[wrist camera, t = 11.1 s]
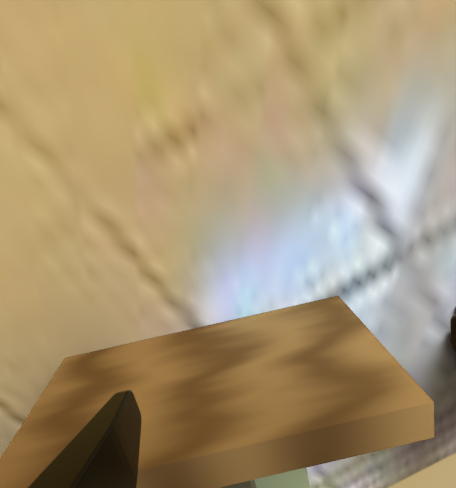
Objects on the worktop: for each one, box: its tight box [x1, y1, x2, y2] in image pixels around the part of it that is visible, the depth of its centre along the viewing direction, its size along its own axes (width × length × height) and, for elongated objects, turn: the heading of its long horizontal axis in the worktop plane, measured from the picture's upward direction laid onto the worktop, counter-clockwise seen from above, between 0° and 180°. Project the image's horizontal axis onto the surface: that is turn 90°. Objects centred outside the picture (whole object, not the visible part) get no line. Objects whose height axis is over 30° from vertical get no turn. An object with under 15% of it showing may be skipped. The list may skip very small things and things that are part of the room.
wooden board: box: [0, 296, 434, 488], centre depth 19 cm, size 20×7×10 cm, turn 102°
